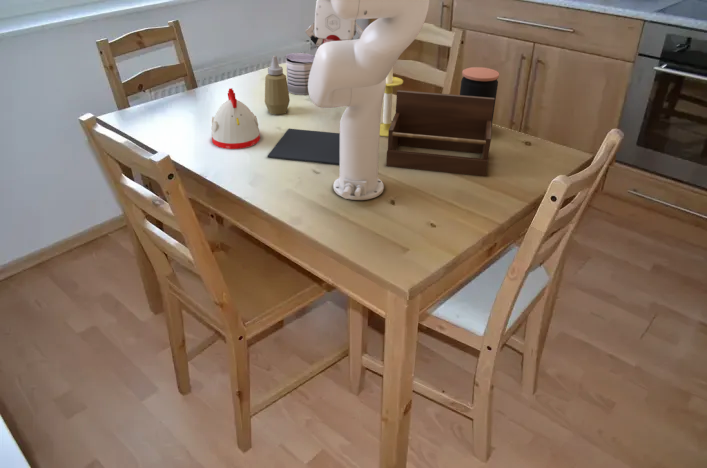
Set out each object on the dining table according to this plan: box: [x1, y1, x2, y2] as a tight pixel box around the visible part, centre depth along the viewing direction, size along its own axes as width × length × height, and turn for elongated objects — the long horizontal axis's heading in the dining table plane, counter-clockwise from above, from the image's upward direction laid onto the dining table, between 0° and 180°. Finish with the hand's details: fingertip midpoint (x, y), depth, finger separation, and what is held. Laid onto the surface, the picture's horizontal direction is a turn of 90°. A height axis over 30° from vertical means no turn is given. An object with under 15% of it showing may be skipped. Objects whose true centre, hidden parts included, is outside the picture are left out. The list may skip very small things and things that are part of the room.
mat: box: [267, 128, 340, 166], centre depth 167 cm, size 20×24×1 cm
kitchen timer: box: [210, 87, 261, 150], centre depth 168 cm, size 14×14×15 cm
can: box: [284, 52, 315, 96], centre depth 206 cm, size 11×11×12 cm
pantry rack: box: [385, 89, 494, 177], centre depth 158 cm, size 15×26×16 cm, turn 78°
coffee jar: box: [459, 66, 500, 128], centre depth 175 cm, size 11×11×18 cm
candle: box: [379, 67, 404, 138], centre depth 170 cm, size 10×10×32 cm
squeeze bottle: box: [264, 55, 291, 115], centre depth 186 cm, size 8×8×18 cm
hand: (335, 62), depth 153 cm, fingers closed on soda can, 6 cm apart
